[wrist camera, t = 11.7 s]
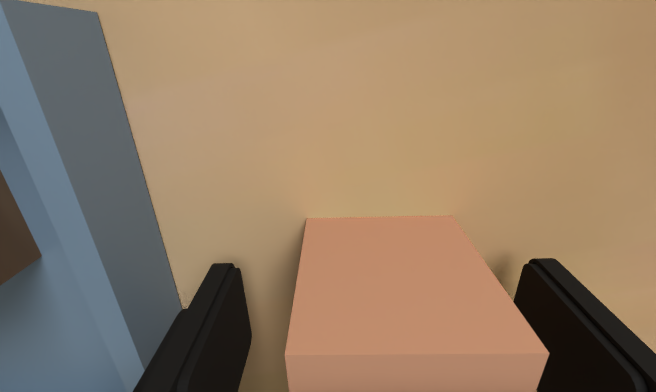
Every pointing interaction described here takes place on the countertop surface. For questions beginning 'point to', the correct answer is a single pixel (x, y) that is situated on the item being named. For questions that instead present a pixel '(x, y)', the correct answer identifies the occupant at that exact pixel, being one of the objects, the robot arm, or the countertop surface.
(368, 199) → the countertop surface
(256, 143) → the countertop surface
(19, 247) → the walnut block
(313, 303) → the terracotta block
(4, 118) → the tray
